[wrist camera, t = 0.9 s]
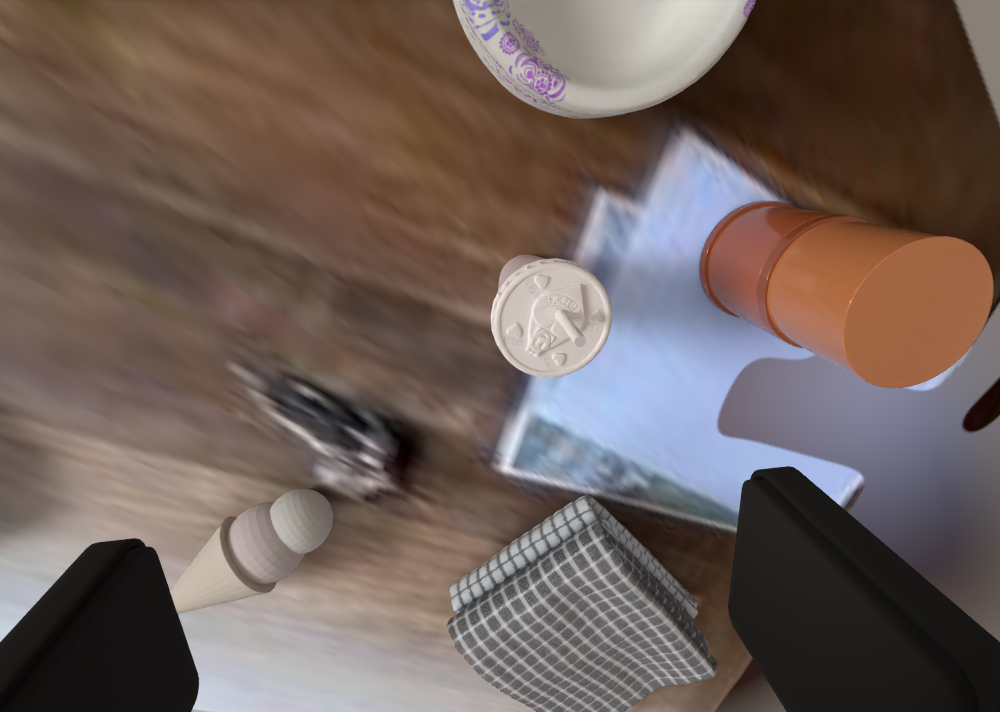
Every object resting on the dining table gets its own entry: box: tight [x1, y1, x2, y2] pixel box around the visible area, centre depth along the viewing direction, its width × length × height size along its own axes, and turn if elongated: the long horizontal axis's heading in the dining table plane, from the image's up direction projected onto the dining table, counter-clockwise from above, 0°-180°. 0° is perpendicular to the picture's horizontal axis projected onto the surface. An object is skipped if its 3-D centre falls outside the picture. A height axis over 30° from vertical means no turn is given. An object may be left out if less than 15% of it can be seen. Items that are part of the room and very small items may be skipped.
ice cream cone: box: [170, 489, 333, 614], centre depth 39 cm, size 6×6×15 cm
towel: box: [447, 495, 718, 712], centre depth 44 cm, size 15×18×8 cm
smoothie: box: [491, 254, 612, 377], centre depth 30 cm, size 6×6×14 cm
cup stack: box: [699, 201, 994, 388], centre depth 32 cm, size 8×8×14 cm
